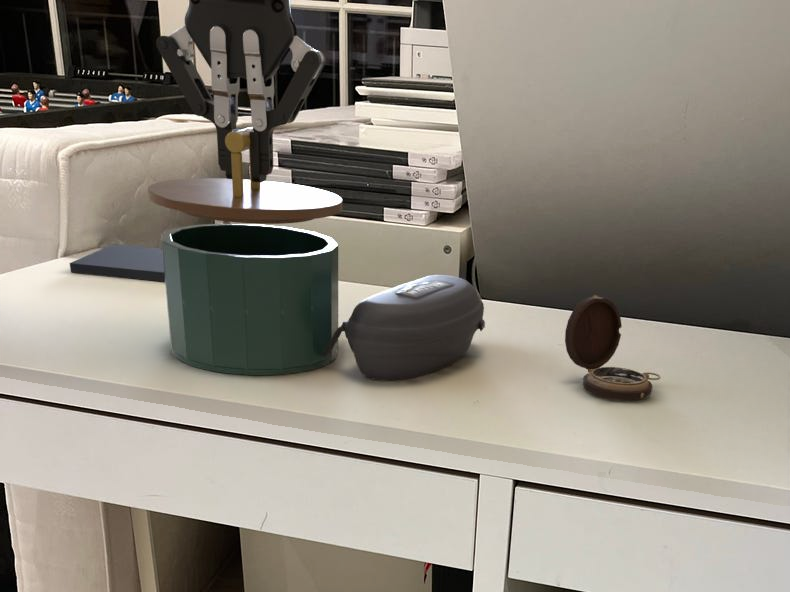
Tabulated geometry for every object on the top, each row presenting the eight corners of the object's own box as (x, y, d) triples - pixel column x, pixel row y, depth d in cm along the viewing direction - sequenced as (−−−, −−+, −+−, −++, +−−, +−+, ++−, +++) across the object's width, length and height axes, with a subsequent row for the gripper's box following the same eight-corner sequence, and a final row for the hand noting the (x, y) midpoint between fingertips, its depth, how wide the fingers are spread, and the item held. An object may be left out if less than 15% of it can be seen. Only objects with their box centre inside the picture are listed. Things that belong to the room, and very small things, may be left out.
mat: (70, 272, 108) (69, 263, 107) (114, 252, 118) (113, 243, 118) (177, 283, 108) (176, 273, 107) (211, 262, 118) (211, 253, 117)
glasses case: (427, 387, 80) (399, 290, 77) (326, 407, 85) (297, 317, 82) (515, 339, 94) (494, 255, 91) (423, 358, 99) (401, 280, 96)
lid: (118, 215, 76) (109, 126, 72) (187, 189, 89) (182, 113, 86) (319, 236, 75) (319, 148, 72) (358, 207, 89) (359, 131, 86)
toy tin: (146, 365, 82) (134, 246, 77) (202, 322, 95) (195, 218, 90) (316, 382, 82) (315, 264, 77) (350, 337, 94) (351, 233, 89)
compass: (615, 407, 83) (629, 319, 79) (555, 379, 88) (565, 296, 84) (681, 395, 87) (696, 311, 83) (620, 370, 92) (632, 290, 88)
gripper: (125, -93, 69) (149, 176, 78) (317, -75, 68) (318, 194, 78) (163, -82, 75) (181, 166, 84) (339, -65, 75) (337, 182, 84)
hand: (247, 178), depth 81 cm, fingers closed on lid, 1 cm apart
